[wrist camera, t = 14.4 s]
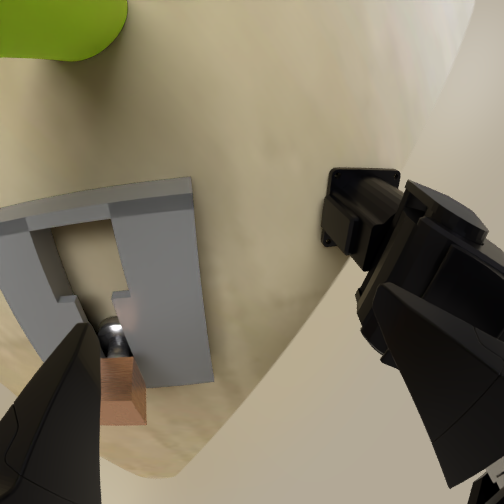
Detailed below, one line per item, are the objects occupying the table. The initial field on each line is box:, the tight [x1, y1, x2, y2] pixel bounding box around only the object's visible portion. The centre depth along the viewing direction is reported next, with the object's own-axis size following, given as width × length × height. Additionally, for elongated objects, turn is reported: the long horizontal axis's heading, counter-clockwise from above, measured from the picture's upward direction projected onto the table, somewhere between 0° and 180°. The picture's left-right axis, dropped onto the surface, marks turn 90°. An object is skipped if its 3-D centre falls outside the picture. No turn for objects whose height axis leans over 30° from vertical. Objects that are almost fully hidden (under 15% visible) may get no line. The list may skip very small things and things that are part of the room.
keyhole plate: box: [0, 177, 214, 388], centre depth 21 cm, size 18×16×3 cm
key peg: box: [97, 316, 147, 425], centre depth 21 cm, size 4×4×8 cm
